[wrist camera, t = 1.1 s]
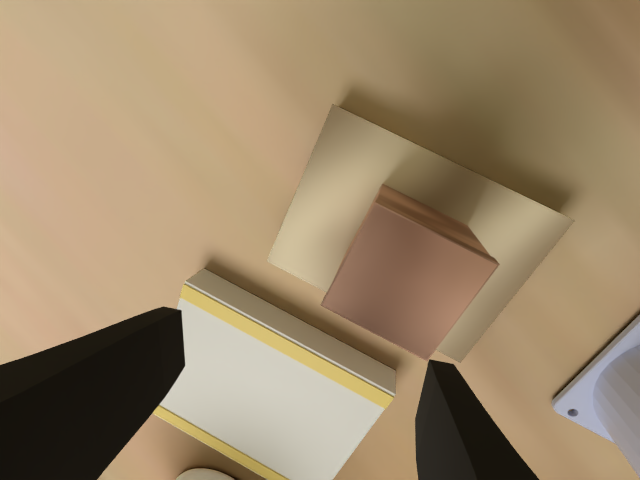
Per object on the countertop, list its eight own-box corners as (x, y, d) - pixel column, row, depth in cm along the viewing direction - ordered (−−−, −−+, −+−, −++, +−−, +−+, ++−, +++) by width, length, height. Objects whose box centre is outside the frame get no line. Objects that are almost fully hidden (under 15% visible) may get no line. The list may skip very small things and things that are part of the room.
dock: (395, 370, 20) (395, 395, 19) (319, 478, 25) (312, 507, 23) (203, 268, 21) (184, 281, 19) (163, 389, 26) (144, 410, 24)
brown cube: (469, 225, 15) (499, 264, 11) (419, 299, 17) (427, 361, 12) (381, 182, 16) (374, 202, 11) (341, 259, 17) (320, 305, 13)
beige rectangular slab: (559, 212, 16) (575, 220, 14) (455, 346, 19) (460, 362, 18) (338, 106, 17) (332, 104, 15) (275, 252, 20) (266, 261, 18)
